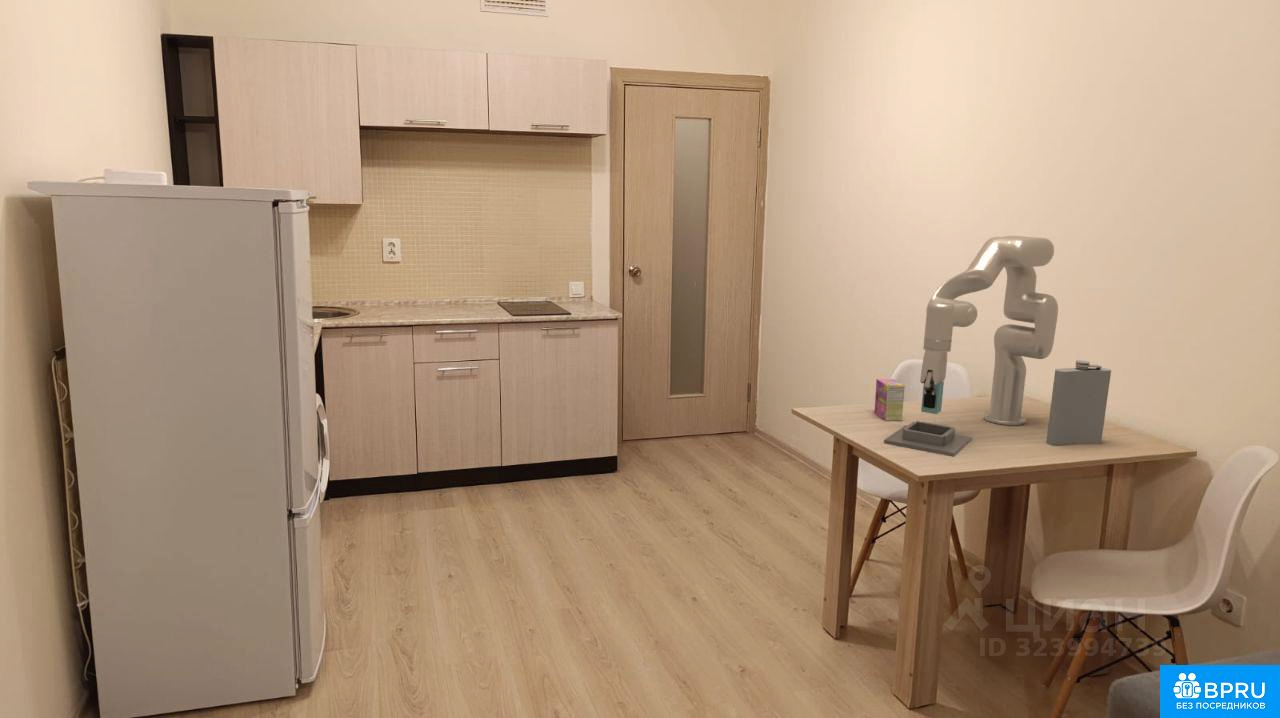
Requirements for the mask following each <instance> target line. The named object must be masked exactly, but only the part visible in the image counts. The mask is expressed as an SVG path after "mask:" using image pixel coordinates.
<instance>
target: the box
mask: <svg viewBox="0 0 1280 718" xmlns="http://www.w3.org/2000/svg"><path fill="white" fill-rule="evenodd" d="M874 397H875V398H874V412H875V413H874V414H876V415H878V417H880V418H881V419H883V420H884V421H885V422H887V421H888V422H889V421H890V422H891V421H893V422H894V421H895V422H896V421H903V411H904V398H905V385H904V384H903V383H900V382H899V381H897V380H895V379H894V378H876V381H875V395H874Z"/></svg>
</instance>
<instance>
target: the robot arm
mask: <svg viewBox="0 0 1280 718" xmlns="http://www.w3.org/2000/svg"><path fill="white" fill-rule="evenodd" d="M1054 253H1055V247H1054V244H1053V242H1052V241H1051V240H1050V239H1049V238H1045V237H1035V236H1021V235H1006V236H995V237H991V238H989V239H988V240H986V241H985V242H984V244H983V245H982V247H981V248H980V250H979V251H978V253H977V254H976V256H975V257H974V259H972V261H971V263H970V264H969V266H968V267H967V269H966V270H964V271H962V272H960V273H958V274H956V275H955V276H953V277H951V278H950V279H947V280H946V281H944V282H943V283H942V284H941V285H939V286H938V288H937V289H936V290H935V292H934V294H932V296H931V298H930V300H929V302H928V303H927V307H926V312H925V313H926V315H925V326H924V327H925V328H924V335H923V336H924V337H923V338H924V340H923V346H922V347H923V348H922V349H923V350H924V354H923V357H922V364H921V365H922V366H921V369H920V371H921V372H920V378H919V382H920V383H921V384H924V382H925V381H926V382H925V392H924V403H923V407H927V408H935V400H936V395H935V390H936V385H937V384H939V383H941V382H942V381H944V382H945V379H946V376H947V367H948V366H947V364H948V353H949V352H951V350H952V342H953V341H952V340H953V337H952V336H953V332H954V331H953V329H954V327H959V328H966V327H970V326H971V325H972V324H974V323H975V322H976V320H977V317H978V309H977V306H975V305H974V304H973V303H971V302H970V301H969V302H968V301H964V300H958V299H956V298H959V297H962V296H963V295H967V294H968V295H969V294H972V293H977V292H979V291H981V292H982V291H983V290H987V289H989V288H990V287H991V286H993V284H994V283H995V282H996V279H997V278H998V277H999V275H1000V274H1001V272H1002V271H1003V269H1005V272H1006V287H1005V292H1004V293H1005V294H1004V301H1003V302H1004V303H1003V314H1004V316H1005V318H1007V319H1008V320H1010V321H1011V320H1012V321H1016V322H1023V323H1030V324H1033V325H1034V327H1031V326H1026V325H1019V324H1011V323H1009V324H1003V325H1001V326H998V328H997V329H996V331H995V332H994V336H993V344H994V346H993V347H994V367H993V368H994V369H993V377H992V385H991V394H990V395H991V396H990V403H989V404H990V405H989V412H986V413H984V414H983V419H984V420H985V421H987V422H989V423H994V424H996V425H997V424H998V425H1002V426H1003V425H1004V426H1005V425H1006V426H1022V425H1025V424H1026V420H1027V419H1026V418H1025V417H1024V416H1022V411H1023V402H1024V392H1025V383H1026V375H1027V365H1026V363H1025V361H1024V358H1029V359H1030V358H1031V359H1036V360H1045V359H1046V358H1048V357H1049V356H1050V355H1051V353H1052V351H1053V347H1054V343H1055V335H1056V330H1057V323H1058V316H1059V315H1058V314H1059V305H1058V301H1057V299H1056V298H1055V297H1054V295H1053V296H1052V295H1051V294H1047V293H1040V292H1036V285H1037V273H1036V269H1035V268H1036V267H1038V268H1039V267H1044V266H1046V265H1048V264H1049V263H1050V262H1051V261H1052V259H1053V256H1054V255H1055V254H1054ZM931 382H934V383H933V384H931ZM931 386H933V388H932V387H931Z"/></svg>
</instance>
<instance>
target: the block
mask: <svg viewBox="0 0 1280 718" xmlns="http://www.w3.org/2000/svg"><path fill="white" fill-rule="evenodd" d="M925 382H926V381H925ZM925 382H924V383H923V387H922V390H923V391H922V398H921V399H922V400H921V407H920V410H921V413H925V414H934V415H938V414H939V413H941V412H942V405H943V404H942V403H943V394H944V385H945V380H944V381H942V382H941V383H939V384H937V385H936V390H935V395H936V400H935V408H927V407H923V403H924V392H925ZM933 383H934V382H931V384H933ZM931 387H932V388H933V386H931Z"/></svg>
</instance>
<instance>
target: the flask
mask: <svg viewBox="0 0 1280 718" xmlns="http://www.w3.org/2000/svg"><path fill="white" fill-rule="evenodd" d="M1111 373H1112V370H1111V369H1109V368H1107V367H1106V368H1104V367H1102V366H1101V365H1099V364H1091V363H1090V361H1087V360H1082V359H1081V360H1079V359H1078V360H1075V366H1074V367H1067V368H1066V367H1063V368H1055V370H1054V376H1053V377H1054V378H1053V383H1052V384H1053V385H1052V386H1053V387H1052V393H1051V399H1050V400H1051V402H1050V409H1049V418H1048V426H1047V432H1046V440H1045V443H1046V444H1047V445H1049V446H1052V447H1053V446H1054V447H1059V446H1069V445H1101V444H1102V439H1103V431H1104V425H1105V417H1106V411H1107V404H1108V398H1109V397H1108V396H1109V388H1110V383H1111V376H1112V375H1111Z"/></svg>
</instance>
